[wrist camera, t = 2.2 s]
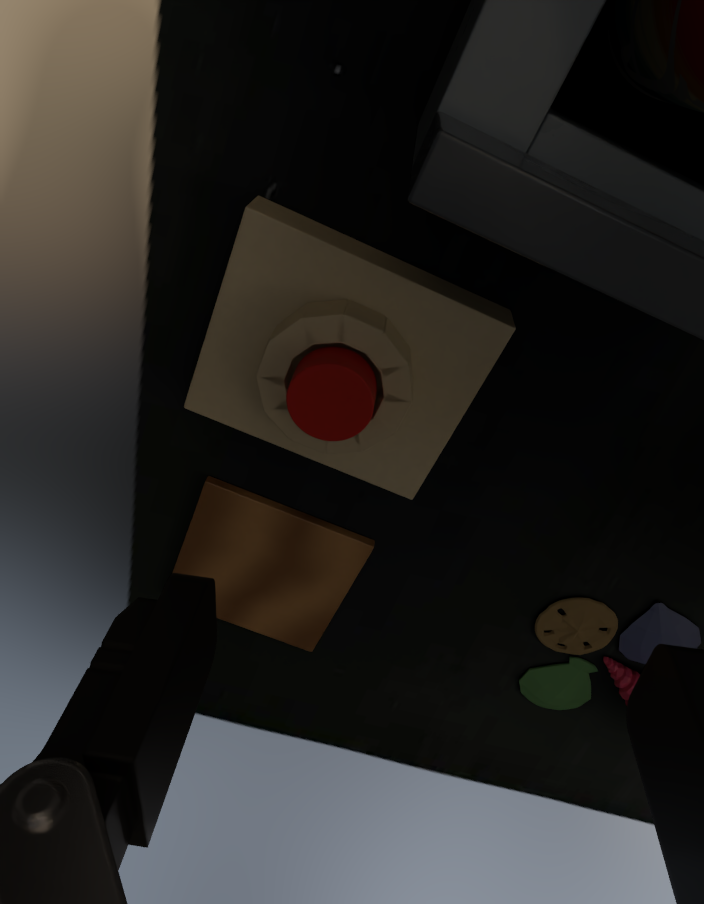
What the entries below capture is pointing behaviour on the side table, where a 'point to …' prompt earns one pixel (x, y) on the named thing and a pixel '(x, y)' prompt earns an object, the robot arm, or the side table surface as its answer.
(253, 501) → the coaster
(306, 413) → the button
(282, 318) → the control box
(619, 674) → the toy pieces
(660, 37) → the spray bottle
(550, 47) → the dark grey square holder
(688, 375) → the side table surface
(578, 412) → the side table surface
